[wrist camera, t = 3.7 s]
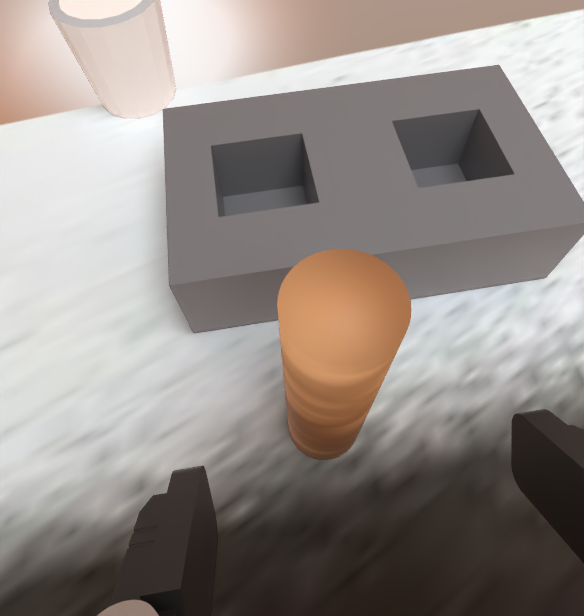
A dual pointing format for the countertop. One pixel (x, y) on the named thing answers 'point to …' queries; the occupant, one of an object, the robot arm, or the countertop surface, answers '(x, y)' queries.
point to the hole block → (361, 190)
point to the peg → (337, 344)
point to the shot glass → (120, 52)
